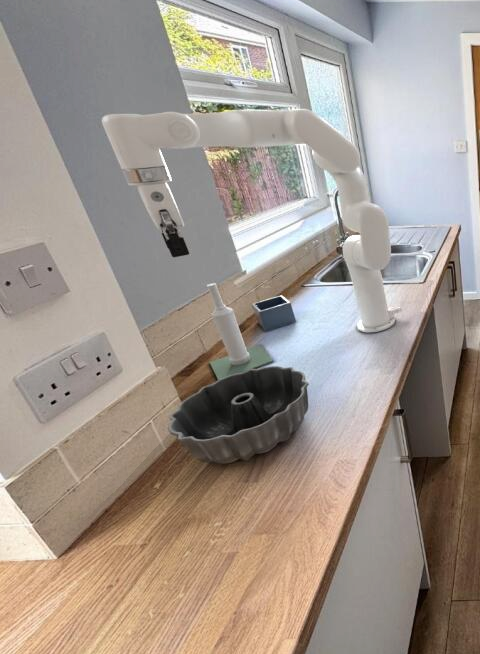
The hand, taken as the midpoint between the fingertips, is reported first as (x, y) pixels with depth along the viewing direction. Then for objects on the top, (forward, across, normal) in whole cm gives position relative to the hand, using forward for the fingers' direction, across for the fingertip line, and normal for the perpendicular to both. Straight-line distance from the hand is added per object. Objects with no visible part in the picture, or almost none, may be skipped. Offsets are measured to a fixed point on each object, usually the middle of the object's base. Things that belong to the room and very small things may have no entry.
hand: (178, 251), depth 95 cm
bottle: (+38, +12, -4) cm, 40 cm away
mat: (+38, +12, -4) cm, 40 cm away
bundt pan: (+39, -26, 0) cm, 47 cm away
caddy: (+38, +34, -20) cm, 55 cm away
